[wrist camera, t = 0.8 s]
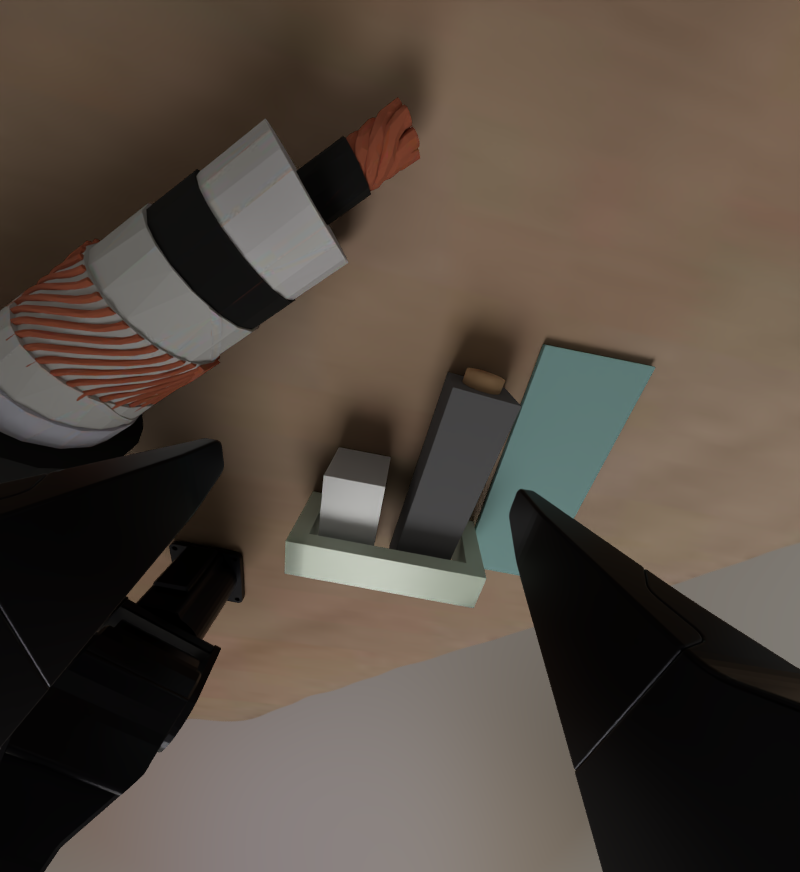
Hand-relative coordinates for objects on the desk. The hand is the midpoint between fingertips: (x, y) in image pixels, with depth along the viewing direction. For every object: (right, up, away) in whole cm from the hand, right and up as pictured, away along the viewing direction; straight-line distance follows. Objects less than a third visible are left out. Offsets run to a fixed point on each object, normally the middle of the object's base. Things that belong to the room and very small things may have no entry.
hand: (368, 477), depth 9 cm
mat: (+12, -2, +14) cm, 18 cm away
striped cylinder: (-13, +9, +11) cm, 19 cm away
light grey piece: (0, -6, +17) cm, 18 cm away
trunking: (-3, -4, +16) cm, 17 cm away
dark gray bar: (+4, -2, +15) cm, 15 cm away
